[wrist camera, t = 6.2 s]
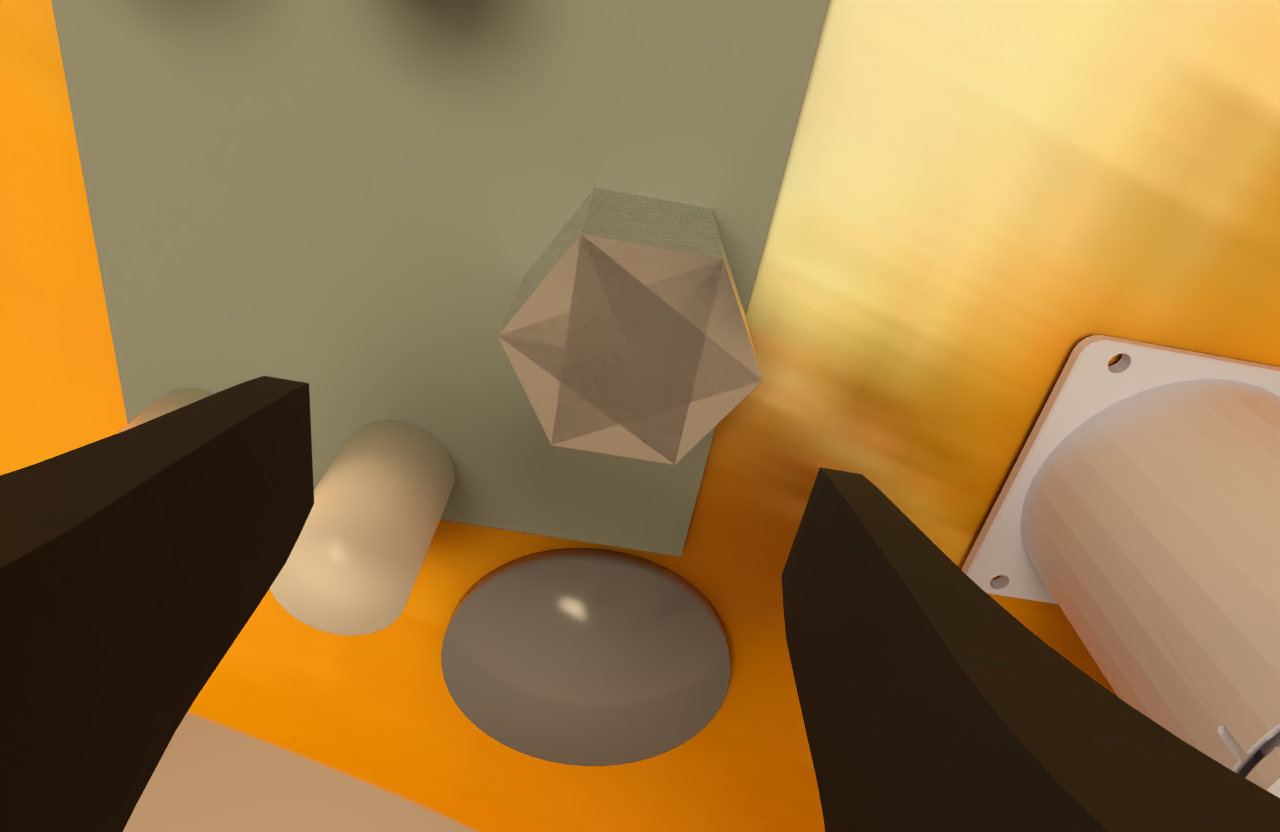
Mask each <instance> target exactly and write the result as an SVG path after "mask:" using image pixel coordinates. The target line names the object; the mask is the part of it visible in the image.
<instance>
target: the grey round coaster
mask: <svg viewBox="0 0 1280 832" xmlns="http://www.w3.org/2000/svg"><path fill="white" fill-rule="evenodd" d="M441 658H442V670H443V675H444V680H445V682H446V685H447V687H448V690H449V692H450V694H451V696H452V698H453V699H454V701H455V703H456V704H457V706H458V707H459V708H460V709H461V711H462V712H463V713H464V714H465V716H466V717H467V718H468V719H469V720H471V721H472V722H473V723H474V724H475V725H476V726H477V727H478V728H479V729H481V730H482V731H483V732H485V733H486V734H487V735H489V736H490V737H492V738H494V739H495V740H497V741H499V742H500V743H502V744H504V745H506V746H508V747H510V748H512V749H514V750H516V751H519V752H522V753H524V754H527V755H530V756H533V757H536V758H540V759H543V760H547V761H551V762H557V763H563V764H570V765H581V766H607V765H619V764H625V763H631V762H636V761H640V760H644V759H648V758H651V757H654V756H657V755H660V754H662V753H665V752H667V751H669V750H671V749H673V748H675V747H677V746H679V745H681V744H683V743H684V742H686V741H687V740H689V739H691V738H692V737H694V736H695V735H696V734H697V733H698V732H699V731H701V730H702V729H703V728H704V727H705V726H706V725H707V724H708V723H709V722H710V721H711V719H712V718H713V717H714V716H715V714H716V713H717V711H718V710H719V708H720V707H721V705H722V703H723V701H724V698H725V696H726V694H727V690H728V686H729V682H730V669H731V666H730V657H729V648H728V641H727V637H726V633H725V630H724V627H723V625H722V623H721V621H720V619H719V617H718V615H717V613H716V612H715V610H714V609H713V608H712V606H711V605H710V604H709V602H708V601H707V600H706V599H705V598H704V597H703V596H702V595H701V594H700V593H699V592H698V591H697V590H696V589H695V588H694V587H693V586H692V585H690V584H689V583H688V582H686V581H685V580H684V579H682V578H681V577H679V576H678V575H676V574H674V573H673V572H671V571H669V570H668V569H666V568H664V567H661V566H659V565H657V564H655V563H652V562H650V561H648V560H644V559H641V558H638V557H635V556H632V555H628V554H624V553H619V552H614V551H608V550H598V549H561V550H551V551H546V552H541V553H536V554H532V555H528V556H525V557H522V558H519V559H516V560H514V561H511V562H509V563H507V564H505V565H503V566H501V567H499V568H497V569H495V570H493V571H492V572H490V573H489V574H487V575H486V576H484V577H483V578H481V579H480V580H479V581H478V582H477V583H476V584H475V585H473V586H472V587H471V588H470V589H469V590H468V591H467V593H466V594H465V595H464V596H463V597H462V599H461V600H460V601H459V603H458V605H457V607H456V608H455V610H454V612H453V614H452V617H451V619H450V622H449V625H448V628H447V631H446V634H445V637H444V640H443V647H442V653H441Z"/></svg>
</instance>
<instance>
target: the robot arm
mask: <svg viewBox="0 0 1280 832" xmlns="http://www.w3.org/2000/svg"><path fill="white" fill-rule="evenodd" d="M1117 354H1122V357H1121V359H1120V360H1119V361H1118V362H1117V363H1116V364H1114V365H1112V366H1108V363H1109V361H1110V360H1111V358H1112V357H1114V356H1115V355H1117ZM313 505H314V486H313V463H312V440H311V416H310V393H309V383H305V382H299V381H293V380H287V379H281V378H275V377H269V376H262V377H258V378H255V379H252V380H249V381H246V382H243V383H240V384H238V385H235V386H233V387H230V388H228V389H225V390H223V391H220V392H218V393H215V394H213V395H210V396H208V397H205V398H203V399H201V400H198V401H196V402H193V403H191V404H189V405H186V406H184V407H181V408H179V409H177V410H174V411H172V412H169V413H167V414H164V415H162V416H160V417H157V418H155V419H152V420H150V421H147V422H145V423H143V424H140V425H138V426H135V427H133V428H130V429H128V430H125V431H123V432H120V433H118V434H115V435H112V436H110V437H107V438H104V439H102V440H99V441H96V442H94V443H91V444H88V445H85V446H83V447H80V448H77V449H75V450H72V451H69V452H67V453H64V454H61V455H59V456H56V457H53V458H50V459H48V460H45V461H42V462H40V463H37V464H34V465H31V466H28V467H25V468H22V469H19V470H16V471H13V472H10V473H7V474H4V475H1V476H0V832H123V830H124V828H125V826H126V824H127V821H128V820H129V818H130V816H131V814H132V812H133V810H134V808H135V806H136V804H137V802H138V800H139V798H140V796H141V795H142V793H143V791H144V789H145V787H146V785H147V783H148V781H149V780H150V778H151V776H152V774H153V772H154V770H155V768H156V766H157V765H158V763H159V761H160V759H161V757H162V755H163V753H164V751H165V749H166V748H167V746H168V744H169V742H170V740H171V738H172V736H173V734H174V733H175V731H176V729H177V728H178V726H179V724H180V723H181V721H182V719H183V718H184V716H185V714H186V713H187V711H188V710H189V708H190V706H191V705H192V703H193V702H194V700H195V698H196V697H197V695H198V694H199V692H200V691H201V689H202V688H203V686H204V685H205V683H206V682H207V681H208V679H209V678H210V676H211V675H212V673H213V672H214V670H215V669H216V667H217V666H218V664H219V663H220V661H221V660H222V658H223V657H224V655H225V654H226V652H227V651H228V649H229V648H230V646H231V645H232V643H233V642H234V640H235V639H236V637H237V636H238V635H239V633H240V632H241V630H242V629H243V627H244V626H245V624H246V623H247V621H248V620H249V618H250V617H251V615H252V614H253V612H254V611H255V609H256V608H257V606H258V605H259V603H260V602H261V600H262V599H263V597H264V596H265V594H266V593H267V591H268V590H269V588H270V587H271V585H272V584H273V582H274V581H275V579H276V578H277V576H278V574H279V573H280V571H281V570H282V568H283V567H284V565H285V564H286V562H287V560H288V558H289V556H290V554H291V552H292V550H293V548H294V546H295V544H296V542H297V540H298V538H299V535H300V533H301V531H302V529H303V527H304V525H305V522H306V520H307V518H308V516H309V514H310V512H311V509H312V507H313ZM998 575H1002V576H1001V577H1000V578H998V579H996V580H992V579H993V578H994V577H996V576H998ZM782 588H783V604H784V617H785V629H786V639H787V644H788V649H789V654H790V659H791V664H792V668H793V673H794V678H795V682H796V687H797V692H798V696H799V701H800V705H801V710H802V715H803V719H804V724H805V728H806V733H807V737H808V742H809V746H810V751H811V755H812V760H813V765H814V769H815V774H816V778H817V783H818V788H819V794H820V800H821V805H822V811H823V817H824V824H825V832H1280V367H1276V366H1270V365H1265V364H1259V363H1254V362H1248V361H1243V360H1237V359H1232V358H1226V357H1220V356H1215V355H1209V354H1204V353H1198V352H1193V351H1187V350H1182V349H1176V348H1171V347H1165V346H1160V345H1154V344H1149V343H1143V342H1138V341H1132V340H1127V339H1121V338H1116V337H1110V336H1105V335H1093V336H1090V337H1087V338H1085V339H1083V340H1082V341H1081V342H1079V343H1078V344H1077V345H1076V347H1075V348H1074V349H1073V351H1072V353H1071V355H1070V357H1069V359H1068V361H1067V363H1066V365H1065V367H1064V369H1063V371H1062V373H1061V375H1060V377H1059V379H1058V380H1057V382H1056V384H1055V386H1054V388H1053V390H1052V392H1051V394H1050V396H1049V398H1048V400H1047V402H1046V404H1045V406H1044V408H1043V410H1042V412H1041V414H1040V416H1039V418H1038V420H1037V422H1036V424H1035V426H1034V428H1033V430H1032V432H1031V434H1030V436H1029V437H1028V439H1027V441H1026V443H1025V445H1024V447H1023V449H1022V451H1021V453H1020V455H1019V457H1018V459H1017V461H1016V463H1015V465H1014V467H1013V469H1012V471H1011V473H1010V475H1009V477H1008V479H1007V481H1006V483H1005V485H1004V487H1003V489H1002V491H1001V493H1000V494H999V496H998V498H997V500H996V502H995V504H994V506H993V508H992V510H991V512H990V514H989V516H988V518H987V520H986V522H985V524H984V526H983V528H982V530H981V532H980V534H979V536H978V538H977V540H976V542H975V544H974V546H973V548H972V550H971V551H970V553H969V555H968V557H967V559H966V561H965V563H964V565H963V567H962V570H961V569H960V568H959V567H958V566H957V565H955V564H954V563H953V562H952V561H951V560H950V559H949V558H948V557H947V556H946V555H945V554H944V553H943V552H942V551H941V550H940V549H939V548H938V547H937V546H936V545H935V544H934V543H933V542H932V541H931V540H930V539H929V538H928V537H927V536H926V535H925V534H924V533H923V532H922V531H921V530H920V529H919V528H918V527H917V526H916V525H915V524H914V523H913V522H912V521H911V520H910V519H909V518H908V517H907V516H906V515H905V514H903V513H902V512H901V511H900V510H899V509H898V508H897V507H896V506H895V505H894V504H893V503H892V502H891V501H890V500H889V499H888V498H887V497H886V496H885V495H884V494H883V493H882V492H881V491H880V490H879V489H878V488H877V487H876V486H875V485H873V484H872V483H871V482H870V481H869V480H868V479H867V478H865V477H864V476H863V475H862V474H856V473H850V472H844V471H838V470H832V469H826V468H820V469H819V472H818V475H817V478H816V481H815V484H814V486H813V489H812V492H811V495H810V498H809V500H808V503H807V506H806V509H805V512H804V515H803V517H802V520H801V523H800V526H799V529H798V532H797V534H796V537H795V540H794V543H793V546H792V548H791V551H790V554H789V557H788V560H787V563H786V565H785V568H784V571H783V574H782ZM988 594H994V595H1000V596H1007V597H1013V598H1020V599H1026V600H1033V601H1039V602H1046V603H1052V604H1058V605H1059V606H1060V608H1061V609H1062V611H1063V613H1064V614H1065V616H1066V617H1067V619H1068V620H1069V622H1070V623H1071V625H1072V627H1073V628H1074V630H1075V631H1076V633H1077V634H1078V636H1079V637H1080V639H1081V641H1082V642H1083V644H1084V645H1085V647H1086V648H1087V650H1088V651H1089V653H1090V655H1091V656H1092V658H1093V659H1094V661H1095V662H1096V664H1097V665H1098V667H1099V669H1100V670H1101V672H1102V673H1103V675H1104V676H1105V678H1106V680H1107V681H1108V683H1109V684H1110V686H1111V687H1112V689H1113V690H1114V692H1115V694H1116V695H1117V696H1116V695H1114V694H1113V693H1111V692H1110V691H1109V690H1107V689H1106V688H1104V687H1103V686H1101V685H1100V684H1099V683H1097V682H1096V681H1094V680H1093V679H1092V678H1090V677H1089V676H1088V675H1086V674H1085V673H1084V672H1083V671H1081V670H1080V669H1079V668H1077V667H1076V666H1075V665H1073V664H1072V663H1071V662H1069V661H1068V660H1067V659H1065V658H1064V657H1063V656H1062V655H1060V654H1059V653H1058V652H1056V651H1055V650H1054V649H1052V648H1051V647H1050V646H1048V645H1047V644H1046V643H1044V642H1043V641H1042V640H1041V639H1040V638H1038V637H1037V636H1036V635H1035V634H1033V633H1032V632H1031V631H1030V630H1028V629H1027V628H1026V627H1025V626H1024V625H1022V624H1021V623H1020V622H1019V621H1018V620H1017V619H1015V618H1014V617H1013V616H1012V615H1011V614H1010V613H1009V612H1007V611H1006V610H1005V609H1004V608H1003V607H1002V606H1001V605H999V604H998V603H997V602H996V601H995V600H994V599H993V598H991V597H990V596H989V595H988Z"/></svg>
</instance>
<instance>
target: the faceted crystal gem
mask: <svg viewBox="0 0 1280 832" xmlns="http://www.w3.org/2000/svg"><path fill="white" fill-rule="evenodd" d="M498 338H499V340H500V342H501V344H502V346H503V348H504V350H505V352H506V354H507V356H508V358H509V360H510V362H511V364H512V366H513V368H514V370H515V372H516V374H517V376H518V378H519V380H520V382H521V384H522V386H523V388H524V390H525V392H526V395H527V397H528V399H529V401H530V403H531V405H532V407H533V409H534V411H535V413H536V415H537V417H538V419H539V421H540V423H541V425H542V427H543V429H544V431H545V433H546V435H547V437H548V439H549V441H550V443H551V445H554V446H560V447H566V448H572V449H579V450H585V451H591V452H598V453H604V454H610V455H616V456H623V457H629V458H635V459H641V460H648V461H654V462H660V463H667V464H673V465H675V464H676V463H677V462H678V461H679V460H680V459H681V458H683V457H684V456H685V455H686V454H687V453H688V452H689V451H690V450H691V449H692V448H693V447H694V446H695V445H696V444H697V443H698V442H699V441H700V440H701V439H702V438H703V437H704V436H705V435H706V434H708V433H709V432H710V431H711V430H712V429H713V428H714V427H715V426H716V425H717V424H718V423H719V422H720V421H721V420H722V419H723V418H724V417H725V416H726V415H727V414H728V413H729V412H730V411H731V410H733V409H734V408H735V407H736V406H737V405H738V404H739V403H740V402H741V401H742V400H743V399H744V398H745V397H746V396H747V395H748V394H749V393H750V392H751V391H752V390H753V389H754V388H755V387H756V386H758V385H759V384H760V383H761V382H762V381H763V380H762V376H761V372H760V369H759V365H758V361H757V357H756V353H755V350H754V346H753V342H752V338H751V334H750V331H749V327H748V323H747V319H746V315H745V312H744V309H743V306H742V302H741V299H740V296H739V293H738V290H737V287H736V283H735V280H734V277H733V274H732V271H731V268H730V264H729V261H728V258H727V255H726V252H725V249H724V245H723V242H722V239H721V236H720V233H719V230H718V226H717V223H716V220H715V217H714V214H713V211H712V209H711V208H705V207H700V206H694V205H689V204H683V203H678V202H672V201H667V200H661V199H656V198H651V197H645V196H640V195H634V194H629V193H623V192H618V191H612V190H607V189H601V188H596V187H595V188H594V189H593V191H592V192H591V193H590V194H589V196H588V197H587V198H586V199H585V201H584V202H583V203H582V204H581V206H580V207H579V208H578V209H577V211H576V212H575V213H574V214H573V216H572V217H571V218H570V219H569V221H568V222H567V223H566V224H565V226H564V227H563V228H562V229H561V231H560V232H559V233H558V234H557V236H556V237H555V238H554V239H553V241H552V242H551V243H550V244H549V246H548V247H547V248H546V249H545V251H544V252H543V253H542V254H541V256H540V257H539V258H538V259H537V261H536V262H535V263H534V264H533V266H532V267H531V268H530V269H529V271H528V272H527V273H526V274H525V276H524V279H523V281H522V283H521V285H520V288H519V290H518V292H517V294H516V296H515V299H514V301H513V303H512V305H511V308H510V310H509V312H508V314H507V316H506V319H505V321H504V323H503V325H502V327H501V330H500V332H499V334H498Z"/></svg>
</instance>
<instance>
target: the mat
mask: <svg viewBox="0 0 1280 832" xmlns="http://www.w3.org/2000/svg"><path fill="white" fill-rule="evenodd" d="M829 1H830V0H52V6H53V11H54V17H55V22H56V28H57V33H58V39H59V44H60V50H61V55H62V61H63V67H64V72H65V78H66V83H67V89H68V94H69V100H70V105H71V111H72V116H73V122H74V128H75V133H76V139H77V144H78V150H79V155H80V161H81V166H82V172H83V177H84V183H85V189H86V194H87V200H88V205H89V211H90V216H91V222H92V227H93V233H94V238H95V244H96V250H97V255H98V261H99V266H100V272H101V277H102V283H103V288H104V294H105V299H106V305H107V311H108V316H109V322H110V327H111V333H112V338H113V344H114V349H115V355H116V360H117V366H118V372H119V377H120V383H121V388H122V394H123V399H124V405H125V410H126V416H127V421H128V424H129V423H130V422H131V421H132V420H133V419H135V418H136V417H137V416H138V415H139V414H141V413H142V412H143V411H144V410H145V409H147V408H148V407H149V406H150V405H151V404H153V403H154V402H155V401H156V400H157V399H158V398H160V397H161V396H163V395H164V394H166V393H168V392H170V391H173V390H177V389H184V388H196V389H203V390H208V391H211V392H214V393H218V392H220V391H223V390H225V389H228V388H230V387H233V386H235V385H238V384H240V383H243V382H246V381H249V380H252V379H255V378H258V377H262V376H269V377H275V378H281V379H287V380H293V381H299V382H305V383H309V393H310V416H311V440H312V463H313V486H314V489H315V488H316V486H317V485H318V483H319V482H320V480H321V479H322V477H323V476H324V474H325V473H326V471H327V470H328V468H329V467H330V466H331V464H332V463H333V461H334V460H335V458H336V457H337V455H338V454H339V452H340V451H341V449H342V448H343V446H344V445H345V443H346V442H347V440H348V439H349V437H350V436H351V435H352V434H353V433H354V432H355V431H357V430H358V429H359V428H361V427H363V426H365V425H367V424H370V423H373V422H377V421H387V420H393V421H401V422H406V423H409V424H412V425H415V426H418V427H420V428H422V429H424V430H425V431H427V432H429V433H430V434H432V435H433V436H434V437H436V438H437V439H438V440H439V441H440V442H441V443H442V444H443V446H444V447H445V448H446V450H447V451H448V453H449V454H450V456H451V459H452V461H453V464H454V469H455V482H454V486H453V489H452V491H451V494H450V496H449V499H448V501H447V504H446V506H445V509H444V511H443V514H442V516H441V519H440V520H444V521H450V522H457V523H463V524H470V525H476V526H483V527H489V528H496V529H502V530H509V531H515V532H522V533H528V534H535V535H542V536H548V537H555V538H561V539H568V540H574V541H581V542H587V543H594V544H600V545H607V546H613V547H620V548H626V549H633V550H639V551H646V552H652V553H659V554H665V555H672V556H678V557H681V556H682V552H683V548H684V544H685V541H686V537H687V533H688V529H689V526H690V522H691V518H692V514H693V511H694V507H695V503H696V499H697V496H698V492H699V488H700V484H701V481H702V477H703V473H704V469H705V466H706V462H707V458H708V454H709V451H710V447H711V443H712V439H713V436H714V432H715V428H716V426H715V427H714V428H713V429H712V430H711V431H710V432H709V433H708V434H706V435H705V436H704V437H703V438H702V439H701V440H700V441H699V442H698V443H697V444H696V445H695V446H694V447H693V448H692V449H691V450H690V451H689V452H688V453H687V454H686V455H685V456H684V457H683V458H681V459H680V460H679V461H678V462H677V463H676V464H675V465H673V464H667V463H660V462H654V461H648V460H641V459H635V458H629V457H623V456H616V455H610V454H604V453H598V452H591V451H585V450H579V449H572V448H566V447H560V446H554V445H551V443H550V441H549V439H548V437H547V435H546V433H545V431H544V429H543V427H542V425H541V423H540V421H539V419H538V417H537V415H536V413H535V411H534V409H533V407H532V405H531V403H530V401H529V399H528V397H527V395H526V392H525V390H524V388H523V386H522V384H521V382H520V380H519V378H518V376H517V374H516V372H515V370H514V368H513V366H512V364H511V362H510V360H509V358H508V356H507V354H506V352H505V350H504V348H503V346H502V344H501V342H500V340H499V338H498V334H499V332H500V330H501V327H502V325H503V323H504V321H505V319H506V316H507V314H508V312H509V310H510V308H511V305H512V303H513V301H514V299H515V296H516V294H517V292H518V290H519V288H520V285H521V283H522V281H523V279H524V276H525V274H526V273H527V272H528V271H529V269H530V268H531V267H532V266H533V264H534V263H535V262H536V261H537V259H538V258H539V257H540V256H541V254H542V253H543V252H544V251H545V249H546V248H547V247H548V246H549V244H550V243H551V242H552V241H553V239H554V238H555V237H556V236H557V234H558V233H559V232H560V231H561V229H562V228H563V227H564V226H565V224H566V223H567V222H568V221H569V219H570V218H571V217H572V216H573V214H574V213H575V212H576V211H577V209H578V208H579V207H580V206H581V204H582V203H583V202H584V201H585V199H586V198H587V197H588V196H589V194H590V193H591V192H592V191H593V189H594V188H595V187H596V188H601V189H607V190H612V191H618V192H623V193H629V194H634V195H640V196H645V197H651V198H656V199H661V200H667V201H672V202H678V203H683V204H689V205H694V206H700V207H705V208H711V209H712V211H713V214H714V217H715V220H716V223H717V226H718V230H719V233H720V236H721V239H722V242H723V245H724V249H725V252H726V255H727V258H728V261H729V264H730V268H731V271H732V274H733V277H734V280H735V283H736V287H737V290H738V293H739V296H740V299H741V302H742V306H743V309H744V312H745V315H746V312H747V308H748V304H749V301H750V297H751V293H752V289H753V286H754V282H755V278H756V274H757V271H758V267H759V263H760V259H761V256H762V252H763V248H764V244H765V241H766V237H767V233H768V229H769V226H770V222H771V218H772V214H773V211H774V207H775V203H776V199H777V196H778V192H779V188H780V184H781V181H782V177H783V173H784V169H785V166H786V162H787V158H788V154H789V151H790V147H791V143H792V139H793V136H794V132H795V128H796V124H797V121H798V117H799V113H800V109H801V106H802V102H803V98H804V94H805V91H806V87H807V83H808V79H809V76H810V72H811V68H812V64H813V61H814V57H815V53H816V49H817V46H818V42H819V38H820V34H821V31H822V27H823V23H824V19H825V16H826V12H827V8H828V4H829Z"/></svg>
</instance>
